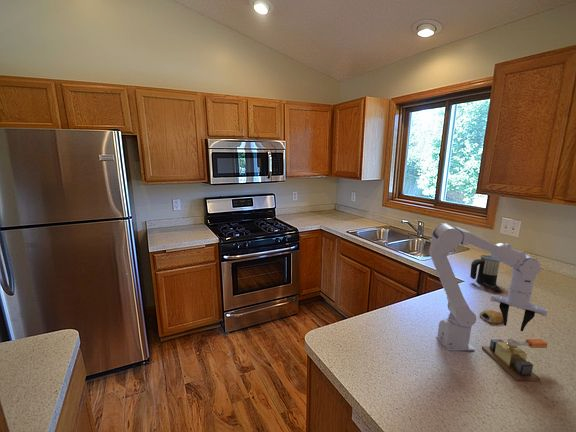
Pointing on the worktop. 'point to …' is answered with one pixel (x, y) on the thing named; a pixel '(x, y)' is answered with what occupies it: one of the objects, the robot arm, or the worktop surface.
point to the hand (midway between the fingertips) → (513, 327)
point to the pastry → (491, 316)
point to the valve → (511, 357)
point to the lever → (527, 343)
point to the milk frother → (486, 271)
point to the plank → (511, 370)
